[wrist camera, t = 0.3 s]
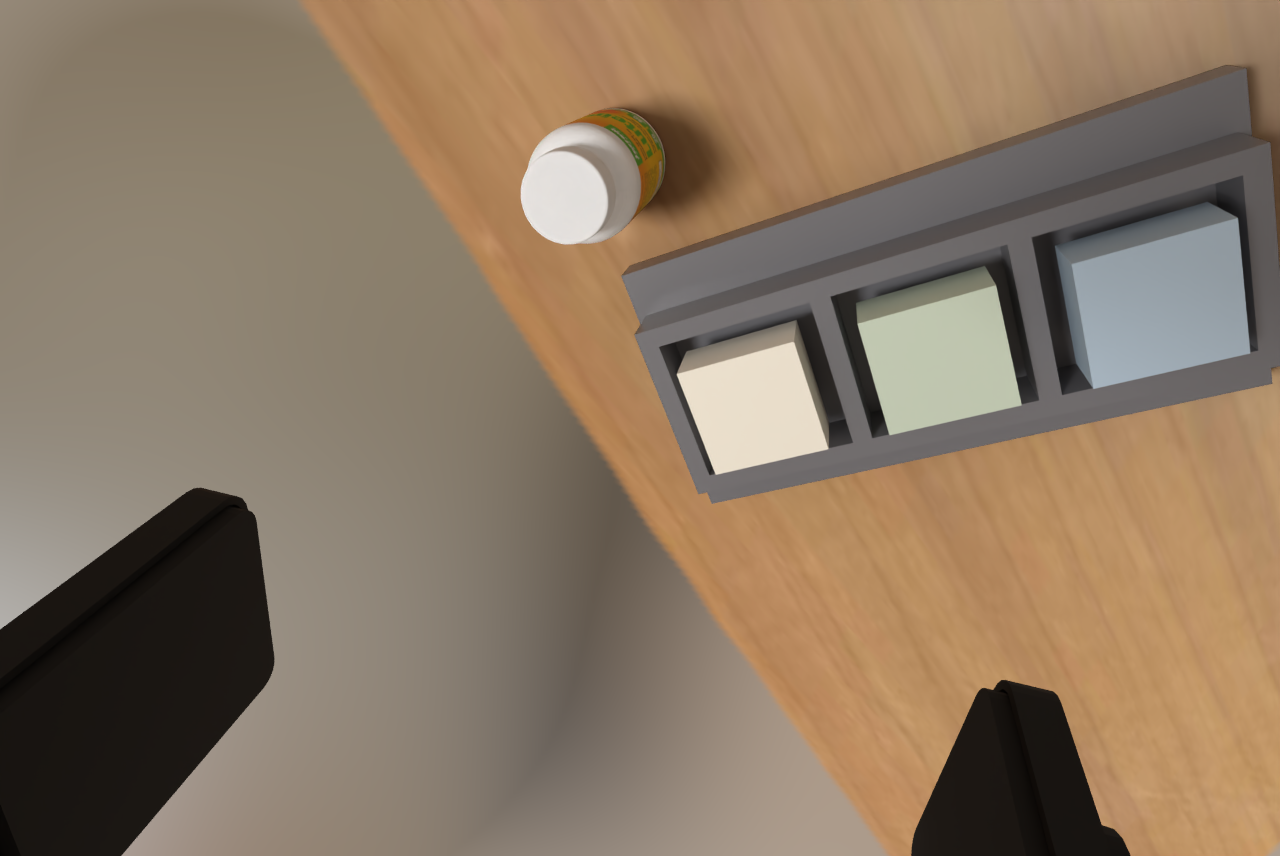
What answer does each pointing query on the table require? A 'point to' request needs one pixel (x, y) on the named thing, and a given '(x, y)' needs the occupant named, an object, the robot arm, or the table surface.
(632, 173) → the supplement bottle
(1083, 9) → the table surface
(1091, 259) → the blue key
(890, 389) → the sage key
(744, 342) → the cream key
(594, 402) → the table surface
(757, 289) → the grey compartment tray
